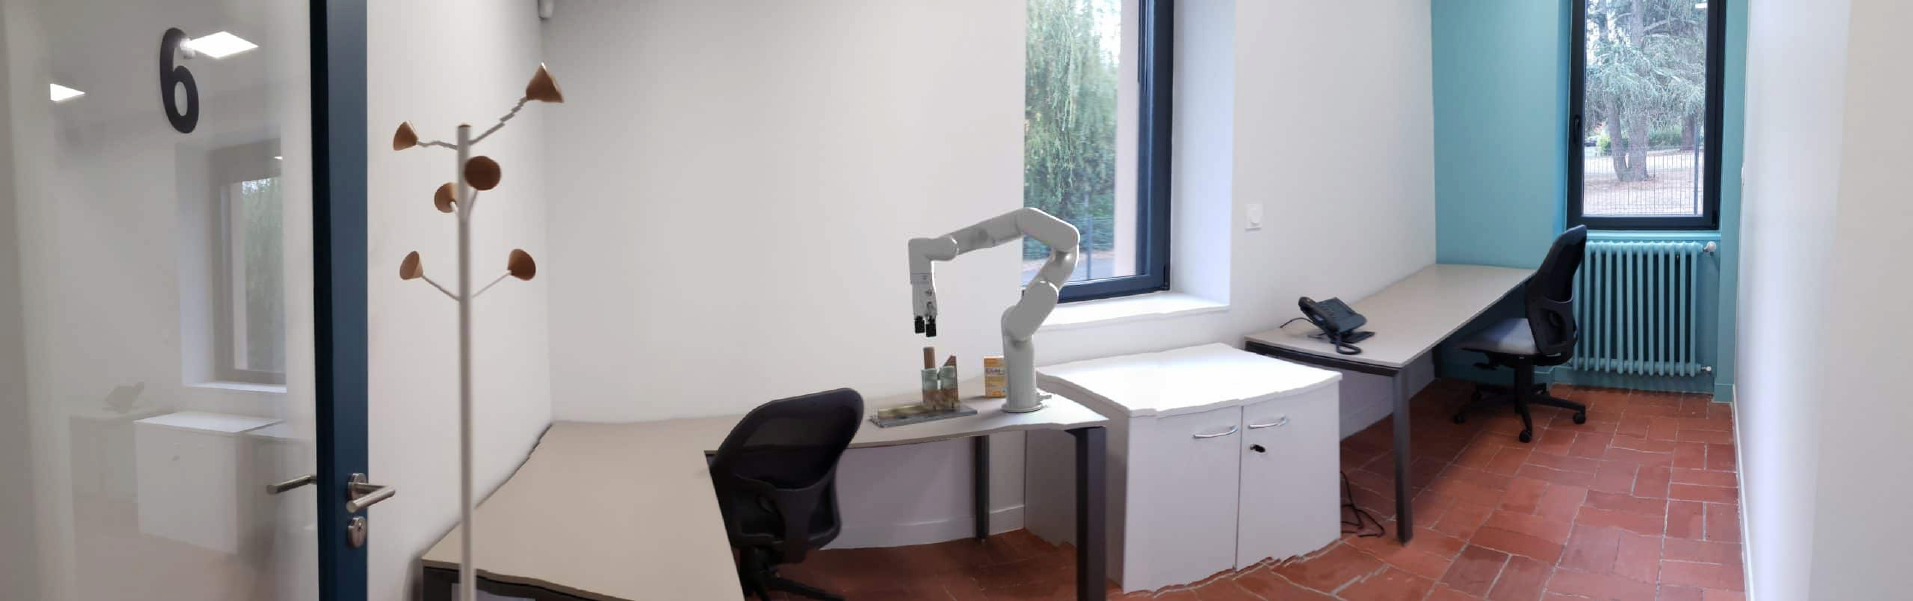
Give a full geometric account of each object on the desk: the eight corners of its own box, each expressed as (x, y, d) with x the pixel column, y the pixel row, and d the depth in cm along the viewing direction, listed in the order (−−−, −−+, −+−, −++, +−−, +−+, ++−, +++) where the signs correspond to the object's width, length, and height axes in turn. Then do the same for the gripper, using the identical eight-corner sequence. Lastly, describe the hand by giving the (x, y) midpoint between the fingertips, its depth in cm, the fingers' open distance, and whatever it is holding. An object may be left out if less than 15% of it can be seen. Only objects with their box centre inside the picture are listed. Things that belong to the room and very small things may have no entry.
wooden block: (959, 399, 341) (955, 344, 339) (929, 404, 336) (925, 348, 334) (953, 397, 344) (950, 343, 342) (924, 402, 339) (920, 347, 337)
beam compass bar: (957, 404, 327) (954, 363, 326) (965, 408, 321) (963, 366, 320) (878, 416, 318) (875, 374, 316) (885, 420, 312) (882, 377, 310)
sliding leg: (933, 406, 324) (931, 367, 323) (941, 410, 318) (938, 370, 317) (921, 408, 322) (919, 368, 321) (929, 412, 317) (926, 371, 315)
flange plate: (960, 405, 331) (959, 402, 331) (977, 413, 318) (977, 409, 318) (869, 418, 320) (869, 415, 320) (883, 427, 307) (883, 423, 307)
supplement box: (985, 397, 340) (982, 358, 339) (987, 394, 345) (984, 355, 344) (1010, 397, 339) (1008, 357, 338) (1012, 394, 344) (1009, 354, 342)
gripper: (944, 279, 309) (947, 337, 311) (924, 276, 325) (927, 330, 327) (920, 281, 306) (923, 339, 308) (901, 278, 322) (904, 333, 324)
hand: (925, 334), depth 318 cm, fingers open, 9 cm apart
